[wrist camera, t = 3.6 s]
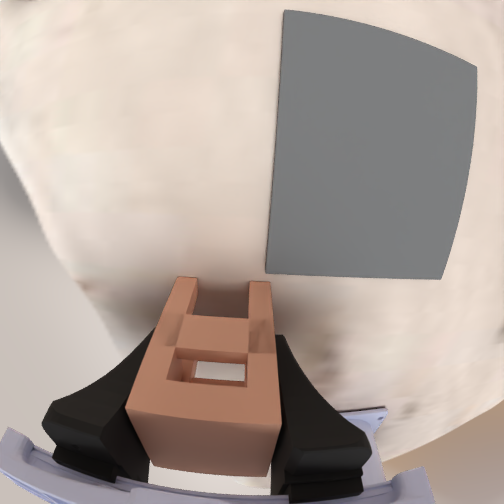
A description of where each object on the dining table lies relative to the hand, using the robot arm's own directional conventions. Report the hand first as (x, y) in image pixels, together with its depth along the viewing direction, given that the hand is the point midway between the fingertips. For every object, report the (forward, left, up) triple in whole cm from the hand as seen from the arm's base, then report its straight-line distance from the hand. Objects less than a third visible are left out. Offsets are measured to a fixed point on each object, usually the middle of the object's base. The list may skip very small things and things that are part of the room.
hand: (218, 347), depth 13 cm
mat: (+9, -7, -2) cm, 12 cm away
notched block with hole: (0, 0, -2) cm, 2 cm away
